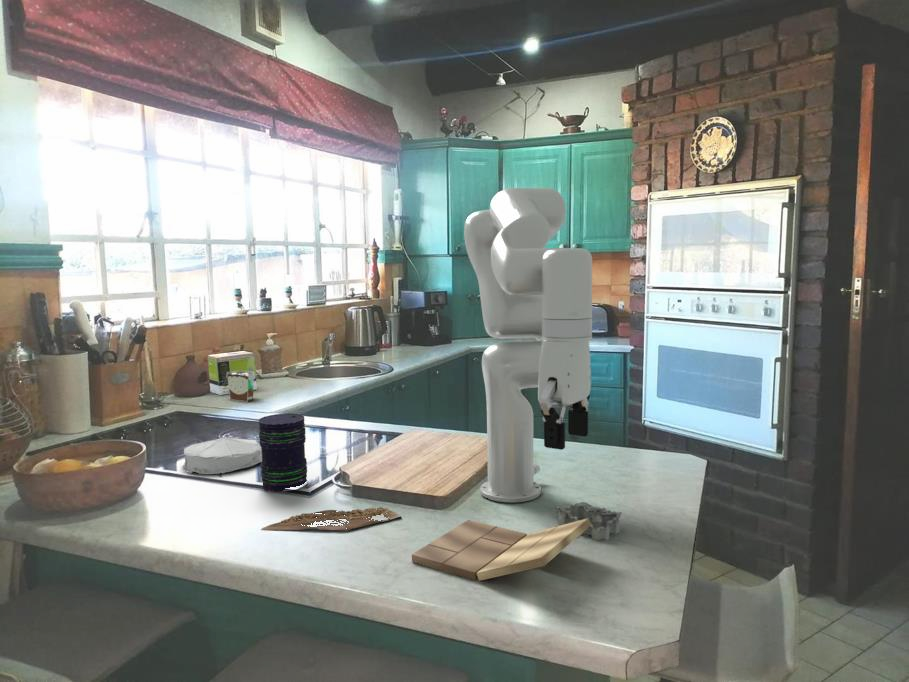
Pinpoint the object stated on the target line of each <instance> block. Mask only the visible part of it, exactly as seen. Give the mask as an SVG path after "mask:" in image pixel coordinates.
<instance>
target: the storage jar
mask: <svg viewBox="0 0 909 682" xmlns="http://www.w3.org/2000/svg"><path fill="white" fill-rule="evenodd" d="M305 424H306V423H305V416H304V415H302V414H299V413H278V414H270V415H266V416H263V417H260V418H259V419H258V425H259V426H258V429H259V430H258V438H259V441H258V444H259V445H260V446H261V451H262V453H261V454H262V455H261V456H262V461H261V462H260V469H261V470H260V476H261V481H262V484H263V488H264V491H265V490H266V491H265V492H268V491H270V492H269V493H276V492H281V493H283V492H282V491H283V490H284V489H285V488H290V487H296V486H300V485H302V484H304V483H305V482H306V481H307V482H308V479H307V478H308V475H307V473H308V466H307V464H308V462H307V458H306V451H305V443H306V439H307V438H306V427H305V426H306V425H305ZM263 488H262V489H263Z"/></svg>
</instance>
